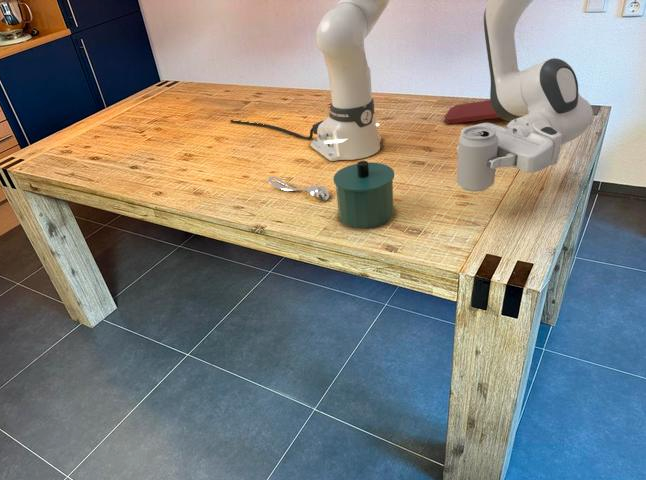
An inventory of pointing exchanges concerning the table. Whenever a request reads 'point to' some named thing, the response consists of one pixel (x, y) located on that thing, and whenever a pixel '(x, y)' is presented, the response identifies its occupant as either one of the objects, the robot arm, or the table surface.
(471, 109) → the dark red sloped ramp
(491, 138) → the can
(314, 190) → the silver spoon
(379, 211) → the pot
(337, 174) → the pot lid
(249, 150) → the table surface
